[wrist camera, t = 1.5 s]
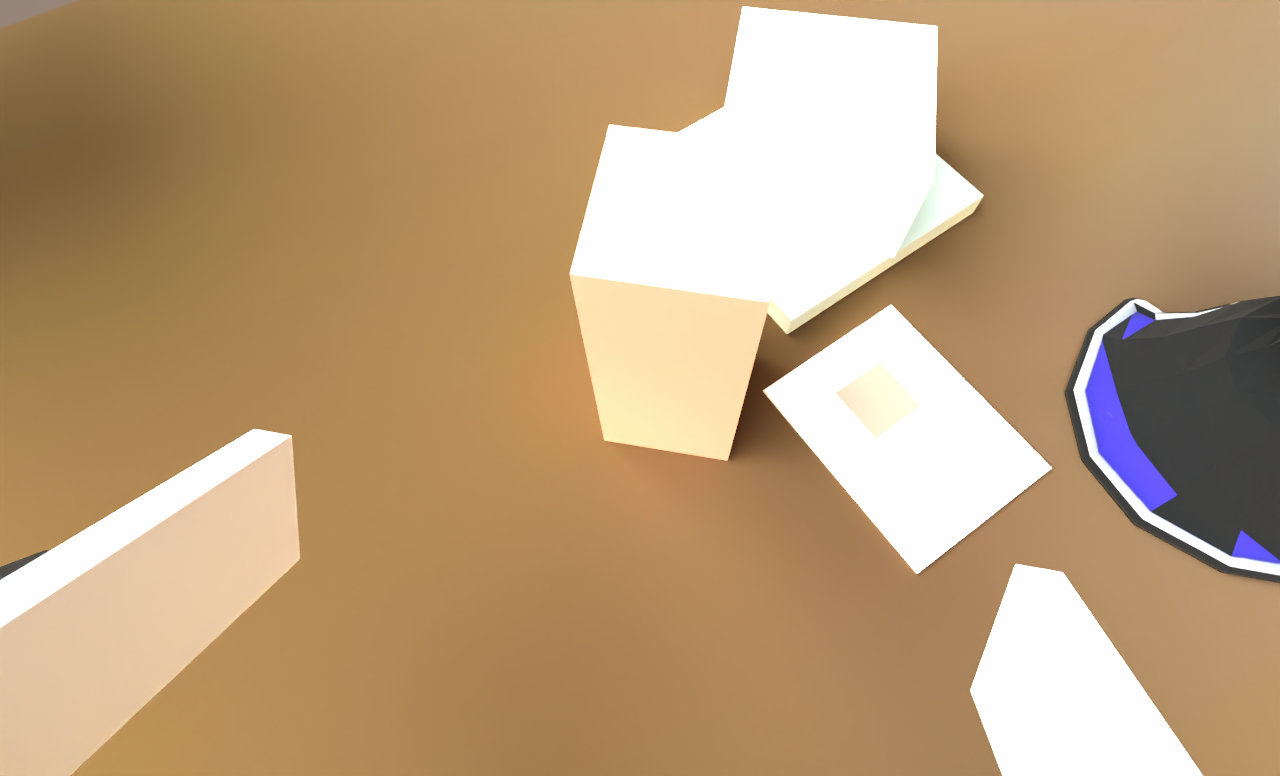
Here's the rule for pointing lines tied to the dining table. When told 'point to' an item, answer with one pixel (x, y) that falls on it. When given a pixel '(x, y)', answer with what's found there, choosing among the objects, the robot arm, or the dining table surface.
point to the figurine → (1188, 426)
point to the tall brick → (677, 283)
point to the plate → (830, 275)
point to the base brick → (839, 122)
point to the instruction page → (906, 436)
